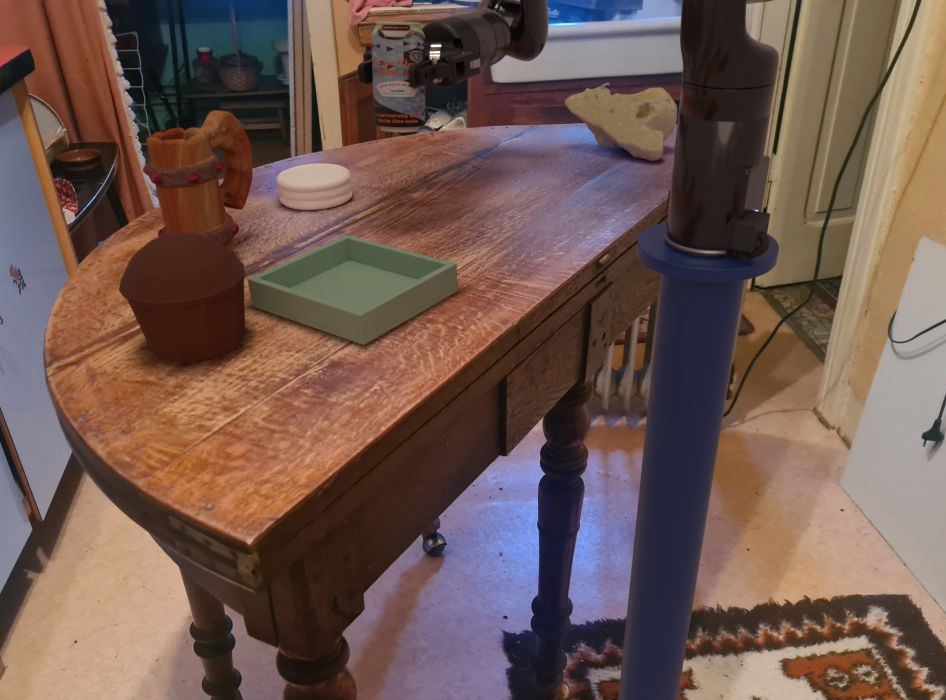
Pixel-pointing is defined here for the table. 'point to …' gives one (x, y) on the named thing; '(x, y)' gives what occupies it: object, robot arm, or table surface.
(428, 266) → the tray
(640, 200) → the table surface
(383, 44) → the beverage can
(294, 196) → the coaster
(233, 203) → the mug
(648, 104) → the cheese
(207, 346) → the muffin
